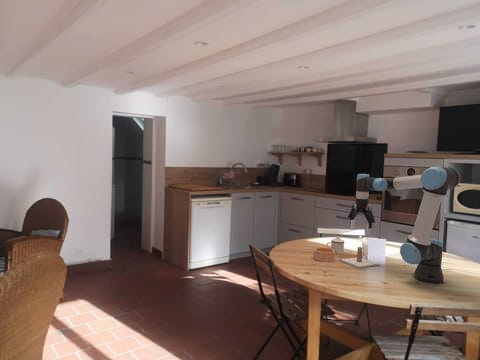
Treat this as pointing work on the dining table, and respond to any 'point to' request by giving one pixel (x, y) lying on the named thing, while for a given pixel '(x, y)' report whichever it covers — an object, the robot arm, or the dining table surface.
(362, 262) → the lid
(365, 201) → the robot arm
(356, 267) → the mat
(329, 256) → the bowl
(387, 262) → the dining table surface
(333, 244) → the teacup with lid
